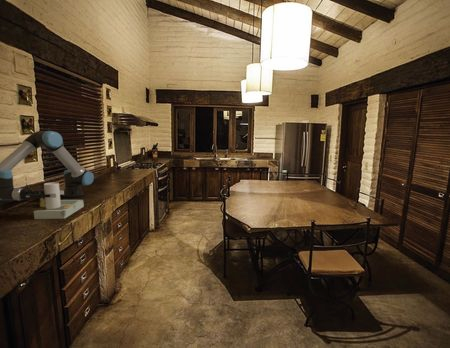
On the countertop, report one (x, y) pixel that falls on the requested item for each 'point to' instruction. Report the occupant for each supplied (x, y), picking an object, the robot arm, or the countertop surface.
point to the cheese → (42, 203)
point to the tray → (60, 210)
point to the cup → (52, 202)
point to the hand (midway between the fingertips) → (59, 193)
